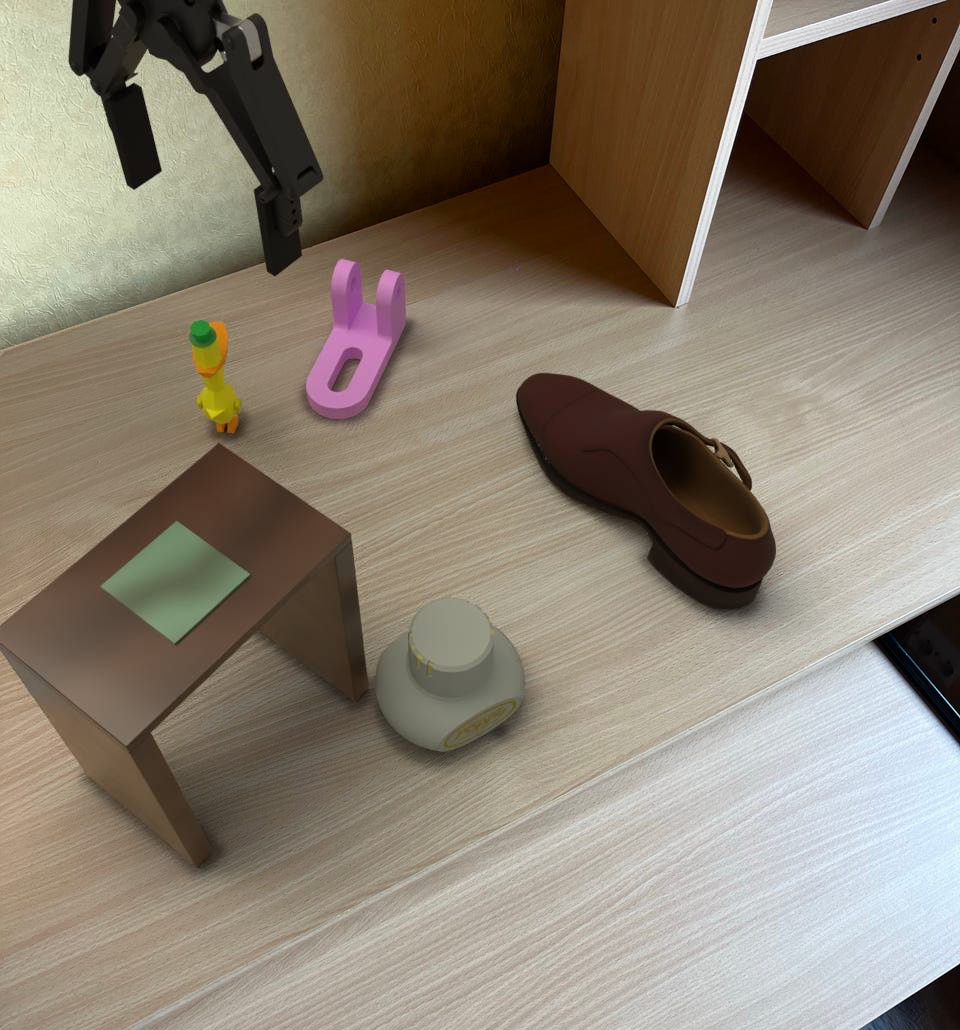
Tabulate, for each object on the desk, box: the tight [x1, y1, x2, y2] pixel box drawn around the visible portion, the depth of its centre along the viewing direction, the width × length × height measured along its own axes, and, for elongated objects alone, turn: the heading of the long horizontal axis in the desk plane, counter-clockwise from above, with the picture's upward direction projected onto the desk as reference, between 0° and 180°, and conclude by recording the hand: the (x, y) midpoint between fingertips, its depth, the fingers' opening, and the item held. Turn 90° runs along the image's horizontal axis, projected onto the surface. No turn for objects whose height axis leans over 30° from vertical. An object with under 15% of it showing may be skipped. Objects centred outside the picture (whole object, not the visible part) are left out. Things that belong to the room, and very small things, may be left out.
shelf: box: [0, 442, 370, 869], centre depth 72 cm, size 11×18×20 cm, turn 142°
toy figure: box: [188, 319, 243, 434], centre depth 90 cm, size 7×4×12 cm, turn 177°
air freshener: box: [374, 597, 526, 753], centre depth 78 cm, size 11×8×10 cm
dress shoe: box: [515, 372, 777, 610], centre depth 87 cm, size 9×28×12 cm, turn 38°
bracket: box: [305, 258, 407, 420], centre depth 96 cm, size 13×6×7 cm, turn 163°
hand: (213, 220), depth 77 cm, fingers open, 13 cm apart
